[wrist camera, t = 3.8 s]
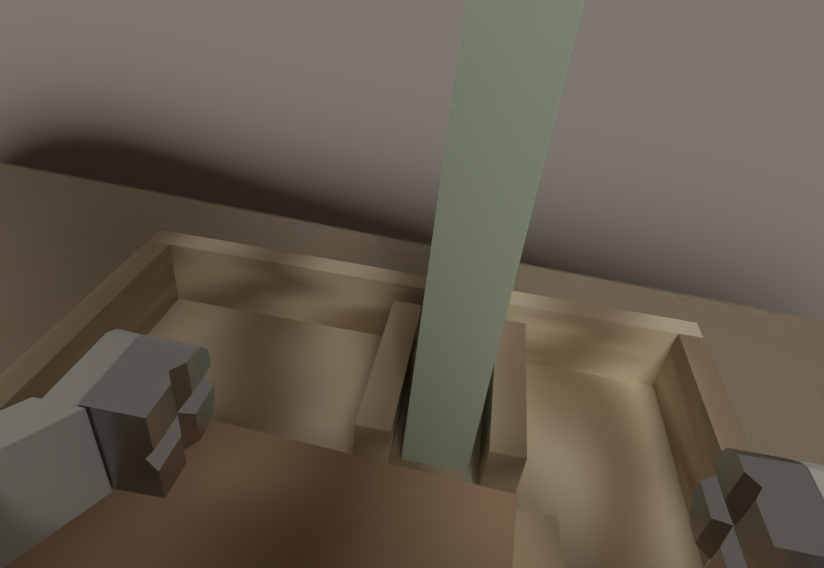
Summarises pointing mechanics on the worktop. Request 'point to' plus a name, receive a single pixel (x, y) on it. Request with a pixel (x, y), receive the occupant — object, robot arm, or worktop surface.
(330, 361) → the beige wooden tray
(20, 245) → the worktop surface
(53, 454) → the robot arm
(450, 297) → the sage green plank
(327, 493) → the offcut stack
